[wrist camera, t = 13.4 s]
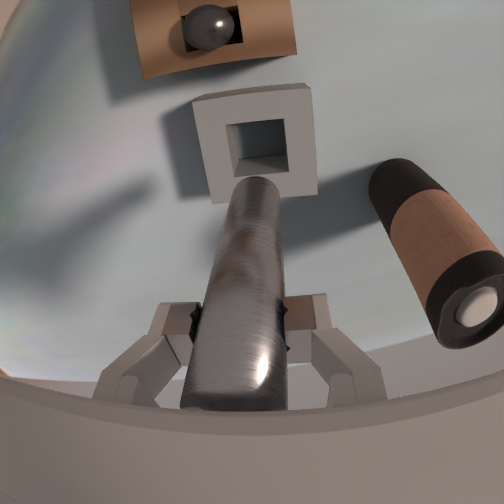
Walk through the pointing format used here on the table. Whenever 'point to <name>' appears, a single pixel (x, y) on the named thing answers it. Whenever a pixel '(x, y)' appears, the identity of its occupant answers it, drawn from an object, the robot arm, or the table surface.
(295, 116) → the grey square ring block
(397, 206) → the travel mug
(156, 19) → the socket block
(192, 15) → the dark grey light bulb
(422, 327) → the table surface
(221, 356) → the grey tapered rounded rod
